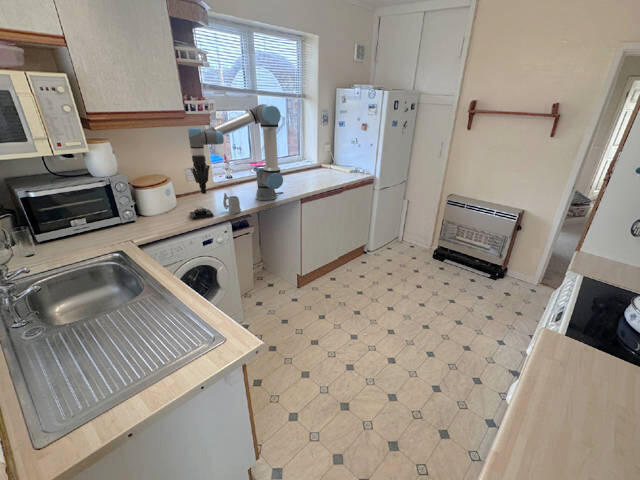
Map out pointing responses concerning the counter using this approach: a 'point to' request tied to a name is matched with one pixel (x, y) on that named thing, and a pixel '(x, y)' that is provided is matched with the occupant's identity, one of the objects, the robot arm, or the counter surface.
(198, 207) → the hob knob
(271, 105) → the robot arm
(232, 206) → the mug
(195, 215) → the hob panel
